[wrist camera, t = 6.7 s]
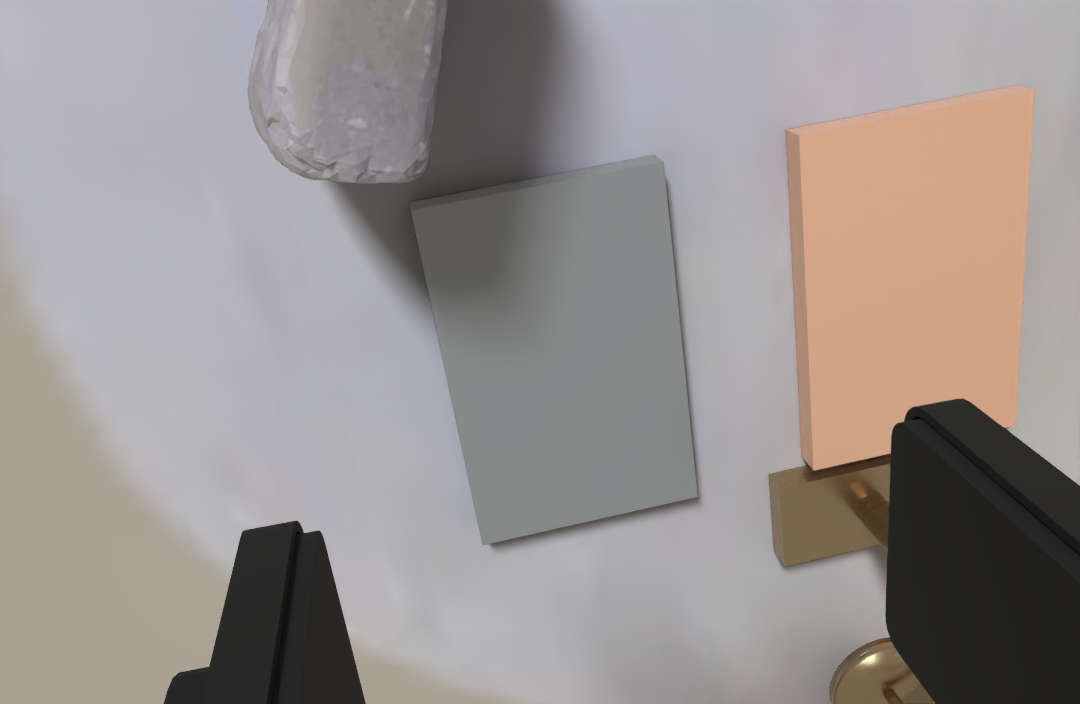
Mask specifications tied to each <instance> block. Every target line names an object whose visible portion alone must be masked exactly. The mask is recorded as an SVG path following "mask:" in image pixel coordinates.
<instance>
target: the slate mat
mask: <svg viewBox="0 0 1080 704" xmlns="http://www.w3.org/2000/svg"><path fill="white" fill-rule="evenodd" d="M409 203H410V210H411V215H412V220H413V224H414V229H415V233H416V238H417V243H418V247H419V252H420V257H421V261H422V266H423V271H424V275H425V280H426V285H427V289H428V294H429V298H430V303H431V308H432V312H433V317H434V322H435V326H436V331H437V336H438V340H439V345H440V349H441V354H442V359H443V363H444V368H445V373H446V377H447V382H448V387H449V391H450V396H451V400H452V405H453V410H454V414H455V419H456V424H457V428H458V433H459V438H460V442H461V447H462V452H463V456H464V461H465V465H466V470H467V475H468V479H469V484H470V489H471V493H472V498H473V503H474V507H475V512H476V516H477V521H478V526H479V530H480V535H481V540H482V544H483V545H486V544H490V543H495V542H499V541H504V540H508V539H513V538H517V537H521V536H526V535H530V534H535V533H539V532H544V531H548V530H553V529H557V528H561V527H566V526H570V525H575V524H579V523H584V522H588V521H593V520H597V519H601V518H606V517H610V516H615V515H619V514H624V513H628V512H633V511H637V510H641V509H646V508H650V507H655V506H659V505H664V504H668V503H673V502H677V501H681V500H686V499H690V498H695V497H698V495H697V485H696V475H695V465H694V455H693V446H692V436H691V426H690V416H689V406H688V396H687V387H686V377H685V367H684V357H683V347H682V338H681V328H680V318H679V308H678V298H677V289H676V279H675V269H674V259H673V249H672V240H671V230H670V220H669V210H668V200H667V191H666V181H665V171H664V162H663V161H662V160H660V159H659V158H658V157H656V156H655V155H652V156H647V157H642V158H637V159H632V160H626V161H621V162H616V163H611V164H606V165H600V166H595V167H590V168H585V169H580V170H574V171H569V172H564V173H559V174H554V175H548V176H543V177H538V178H533V179H528V180H522V181H517V182H512V183H507V184H502V185H496V186H491V187H486V188H481V189H476V190H470V191H465V192H460V193H455V194H450V195H444V196H439V197H434V198H429V199H424V200H418V201H413V202H409Z"/></svg>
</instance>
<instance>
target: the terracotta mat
mask: <svg viewBox="0 0 1080 704" xmlns="http://www.w3.org/2000/svg"><path fill="white" fill-rule="evenodd" d="M1034 95H1035V90H1032V89H1028V88H1023V87H1018V86H1011V87H1006V88H1001V89H995V90H990V91H985V92H980V93H975V94H969V95H964V96H959V97H954V98H949V99H943V100H938V101H933V102H928V103H923V104H917V105H912V106H907V107H902V108H897V109H891V110H886V111H881V112H876V113H871V114H865V115H860V116H855V117H850V118H845V119H839V120H834V121H829V122H824V123H819V124H813V125H808V126H803V127H798V128H793V129H787V130H786V143H787V163H788V184H789V205H790V225H791V246H792V266H793V287H794V307H795V328H796V349H797V369H798V390H799V410H800V431H801V452H802V458H803V459H804V460H805V461H806V462H807V464H808V465H809V466H810V467H811V468H812V469H813V471H815V470H819V469H824V468H828V467H833V466H837V465H841V464H846V463H850V462H855V461H859V460H864V459H868V458H873V457H877V456H881V455H886V454H890V453H891V436H892V430H893V428H894V426H895V425H896V424H897V423H900V422H904V419H905V416H906V414H907V411H908V410H909V409H911V408H912V407H915V406H921V405H926V404H932V403H937V402H942V401H948V400H953V399H963V398H964V399H966V400H967V401H969V402H971V403H972V404H974V405H975V406H976V407H978V408H979V409H980V410H981V411H983V412H984V413H985V414H987V415H988V416H989V417H991V418H992V419H993V420H994V421H996V422H997V423H998V424H1000V425H1001V426H1002V427H1004V428H1006V427H1010V426H1015V425H1016V415H1017V397H1018V380H1019V362H1020V344H1021V326H1022V308H1023V291H1024V273H1025V255H1026V237H1027V220H1028V202H1029V184H1030V166H1031V149H1032V131H1033V113H1034Z"/></svg>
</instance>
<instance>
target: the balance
mask: <svg viewBox="0 0 1080 704" xmlns="http://www.w3.org/2000/svg"><path fill="white" fill-rule="evenodd" d="M890 462H891V453H890V454H886V455H881V456H877V457H873V458H868V459H864V460H859V461H855V462H850V463H846V464H841V465H837V466H833V467H828V468H824V469H819V470H815V471H813V469H812V468H811V467H810V466H809V465H808V466H804V467H799V468H795V469H790V470H786V471H781V472H777V473H773V474H769V485H770V500H771V516H772V531H773V546H774V552H775V553H776V555H777V556H778V558H779V559H780V561H781V562H782V564H783V565H784V567H786V566H790V565H794V564H798V563H803V562H807V561H811V560H816V559H820V558H824V557H828V556H833V555H837V554H841V553H846V552H850V551H854V550H858V549H863V548H867V547H871V546H875V545H880V544H881V545H882V546H883V548H884V549H885V550H886V551H887V552H888V524H889V493H890ZM830 700H831V703H832V704H935V703H933V702H934V701H933V700H932V698H931V697H930V696H929V694H928V693H927V691H926V690H925V689H924V687H923V686H922V685H921V683H920V682H919V681H918V679H917V678H916V677H915V675H914V674H913V672H912V671H911V670H910V668H909V667H908V666H907V664H906V663H905V662H904V660H903V659H902V657H901V656H900V655H899V653H898V652H897V650H896V649H895V647H894V645H893V643H892V641H891V639H890V638H883V639H879V640H875V641H872V642H870V643H867V644H865V645H863V646H862V647H860V648H858V649H857V650H855V651H854V652H852V653H851V654H850V655H849V656H848V657H847V658H846V659H845V660H844V661H843V662H842V663H841V664H840V665H839V667H838V668H837V670H836V671H835V673H834V675H833V678H832V681H831V684H830Z"/></svg>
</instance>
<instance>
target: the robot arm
mask: <svg viewBox="0 0 1080 704" xmlns="http://www.w3.org/2000/svg"><path fill="white" fill-rule="evenodd" d="M886 624H887V629H888V633H889V636H890V639H891V641H892V643H893V645H894V647H895V649H896V650H897V652H898V653H899V655H900V656H901V657H902V659H903V660H904V662H905V663H906V664H907V666H908V667H909V668H910V670H911V671H912V672H913V674H914V675H915V677H916V678H917V679H918V681H919V682H920V683H921V685H922V686H923V687H924V689H925V690H926V691H927V693H928V694H929V696H930V697H931V698H932V700H933V701H934V702H935V704H1080V486H1079V485H1078V484H1077V483H1075V482H1074V481H1073V480H1071V479H1070V478H1069V477H1067V476H1066V475H1065V474H1063V473H1062V472H1061V471H1060V470H1058V469H1057V468H1056V467H1054V466H1053V465H1052V464H1050V463H1049V462H1048V461H1047V460H1045V459H1044V458H1043V457H1041V456H1040V455H1039V454H1037V453H1036V452H1035V451H1034V450H1032V449H1031V448H1030V447H1028V446H1027V445H1026V444H1024V443H1023V442H1022V441H1021V440H1019V439H1018V438H1017V437H1015V436H1014V435H1013V434H1011V433H1010V432H1009V431H1008V430H1006V429H1005V428H1004V427H1002V426H1001V425H1000V424H998V423H997V422H996V421H994V420H993V419H992V418H991V417H989V416H988V415H987V414H985V413H984V412H983V411H981V410H980V409H979V408H978V407H976V406H975V405H974V404H972V403H971V402H969V401H967V400H966V399H964V398H963V399H953V400H948V401H942V402H937V403H932V404H926V405H921V406H915V407H912V408H911V409H909V410H908V411H907V414H906V416H905V419H904V422H900V423H897V424H896V425H895V426H894V428H893V430H892V436H891V462H890V493H889V524H888V555H887V586H886ZM164 704H365V700H364V695H363V692H362V687H361V684H360V680H359V676H358V672H357V668H356V664H355V660H354V656H353V652H352V648H351V644H350V640H349V636H348V632H347V628H346V624H345V620H344V616H343V613H342V609H341V605H340V601H339V597H338V593H337V589H336V585H335V581H334V577H333V573H332V569H331V565H330V561H329V557H328V553H327V549H326V545H325V542H324V538H323V536H322V533H321V532H320V531H314V532H309V533H304V532H303V529H302V527H301V525H300V523H299V522H298V521H292V522H287V523H282V524H276V525H271V526H265V527H260V528H255V529H249V530H245V531H243V532H242V535H241V538H240V542H239V546H238V550H237V554H236V558H235V562H234V567H233V571H232V575H231V579H230V583H229V587H228V592H227V596H226V600H225V604H224V608H223V612H222V617H221V621H220V625H219V629H218V633H217V637H216V641H215V646H214V650H213V654H212V659H211V662H210V666H209V667H206V668H201V669H196V670H191V671H185V672H180V673H178V674H177V675H176V676H175V677H174V678H173V679H172V681H171V684H170V686H169V688H168V691H167V694H166V698H165V701H164Z"/></svg>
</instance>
